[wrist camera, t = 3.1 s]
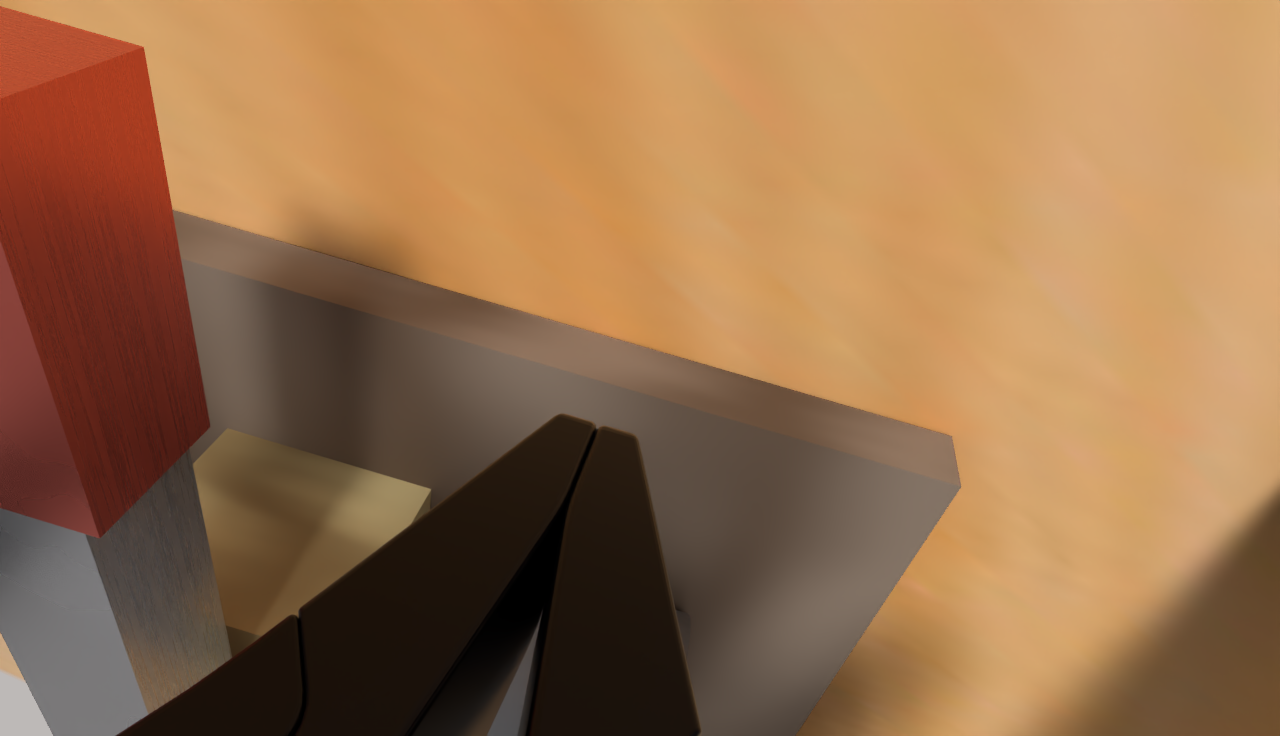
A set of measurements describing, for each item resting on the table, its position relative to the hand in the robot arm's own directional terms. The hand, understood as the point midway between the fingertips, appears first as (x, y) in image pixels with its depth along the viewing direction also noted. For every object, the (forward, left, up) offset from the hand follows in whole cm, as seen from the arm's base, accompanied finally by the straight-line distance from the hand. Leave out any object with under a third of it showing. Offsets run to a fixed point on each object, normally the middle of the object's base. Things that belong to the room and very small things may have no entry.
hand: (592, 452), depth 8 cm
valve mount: (-6, -11, -8) cm, 15 cm away
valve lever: (-6, -5, -1) cm, 8 cm away
